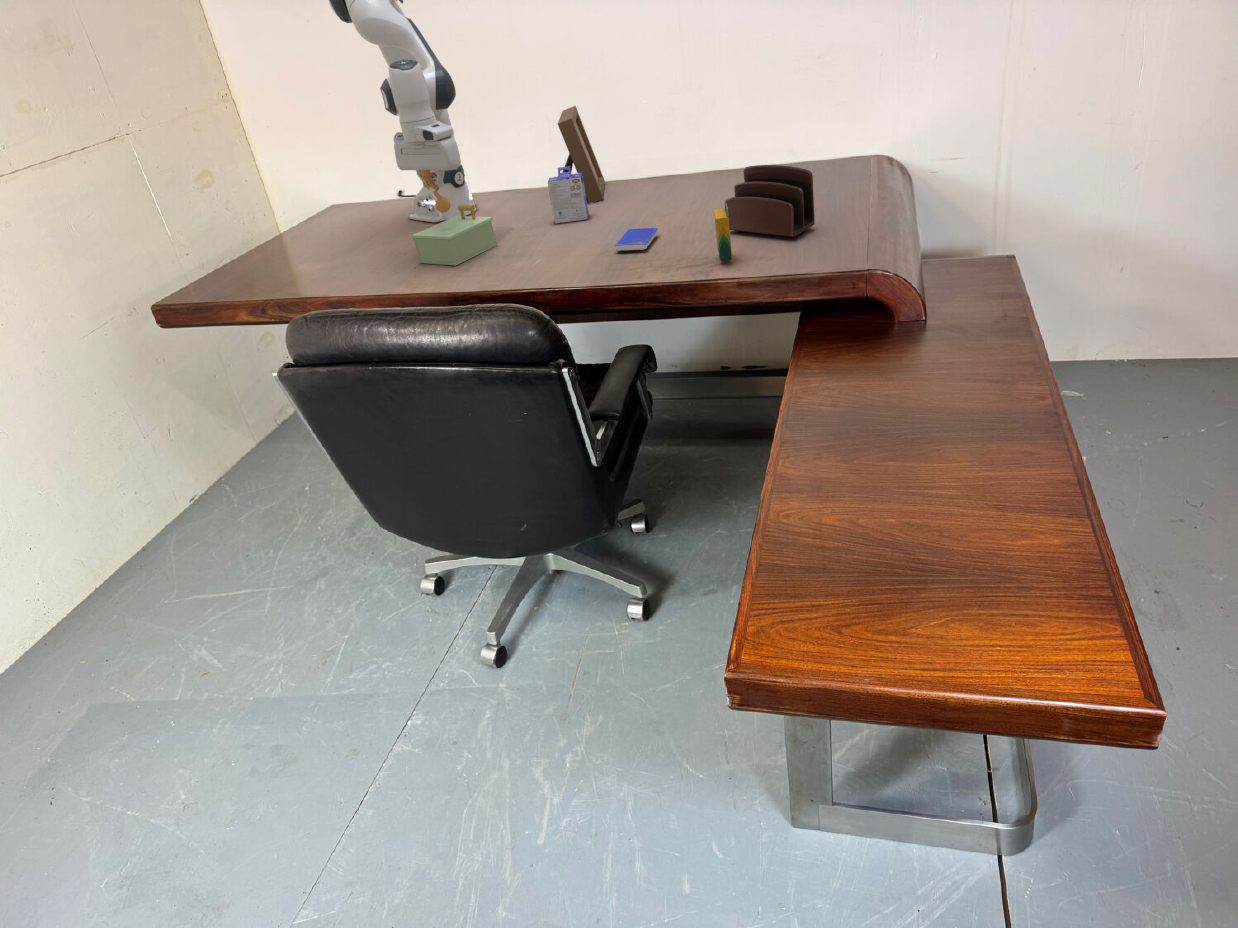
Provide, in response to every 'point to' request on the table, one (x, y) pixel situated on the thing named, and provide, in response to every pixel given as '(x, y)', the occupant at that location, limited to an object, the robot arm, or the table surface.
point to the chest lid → (454, 225)
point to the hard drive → (636, 239)
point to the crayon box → (723, 233)
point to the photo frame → (581, 154)
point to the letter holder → (773, 201)
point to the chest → (456, 246)
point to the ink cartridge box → (568, 196)
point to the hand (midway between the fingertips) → (434, 187)
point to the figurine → (435, 192)
